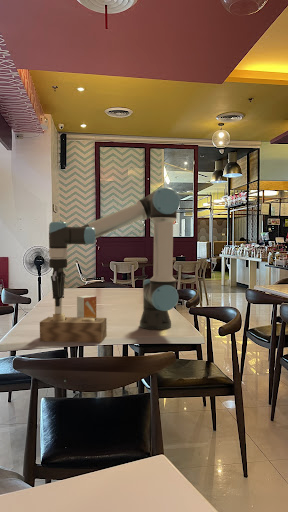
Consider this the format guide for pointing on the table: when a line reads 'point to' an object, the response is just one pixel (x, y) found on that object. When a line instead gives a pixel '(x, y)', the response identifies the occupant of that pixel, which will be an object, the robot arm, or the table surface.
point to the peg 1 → (59, 317)
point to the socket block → (73, 330)
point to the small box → (86, 306)
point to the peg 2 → (89, 320)
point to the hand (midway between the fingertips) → (58, 313)
